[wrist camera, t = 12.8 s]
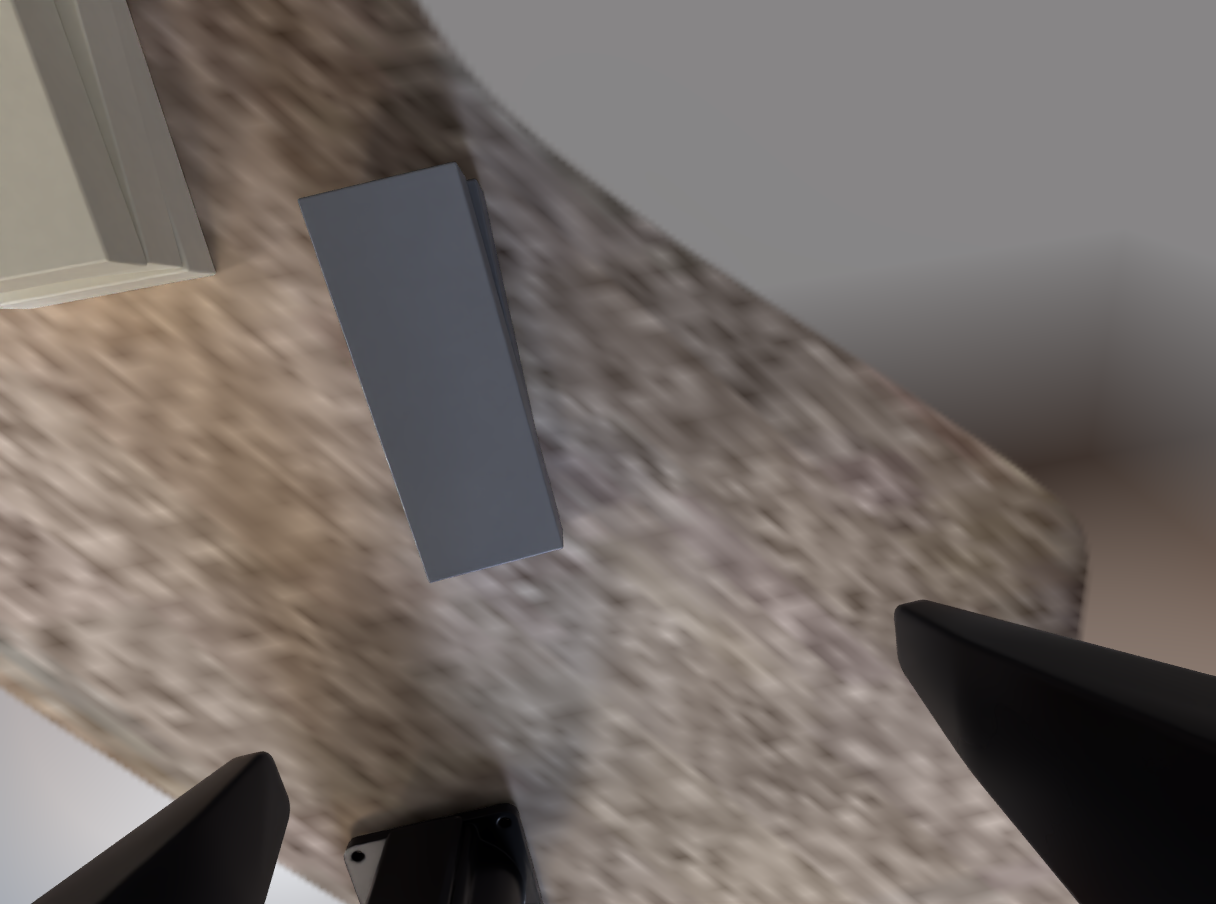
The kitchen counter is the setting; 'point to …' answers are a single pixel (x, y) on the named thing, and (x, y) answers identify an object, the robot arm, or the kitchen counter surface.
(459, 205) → the dark grey rectangular block
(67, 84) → the white book
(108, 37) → the cream flat block
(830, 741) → the kitchen counter surface
